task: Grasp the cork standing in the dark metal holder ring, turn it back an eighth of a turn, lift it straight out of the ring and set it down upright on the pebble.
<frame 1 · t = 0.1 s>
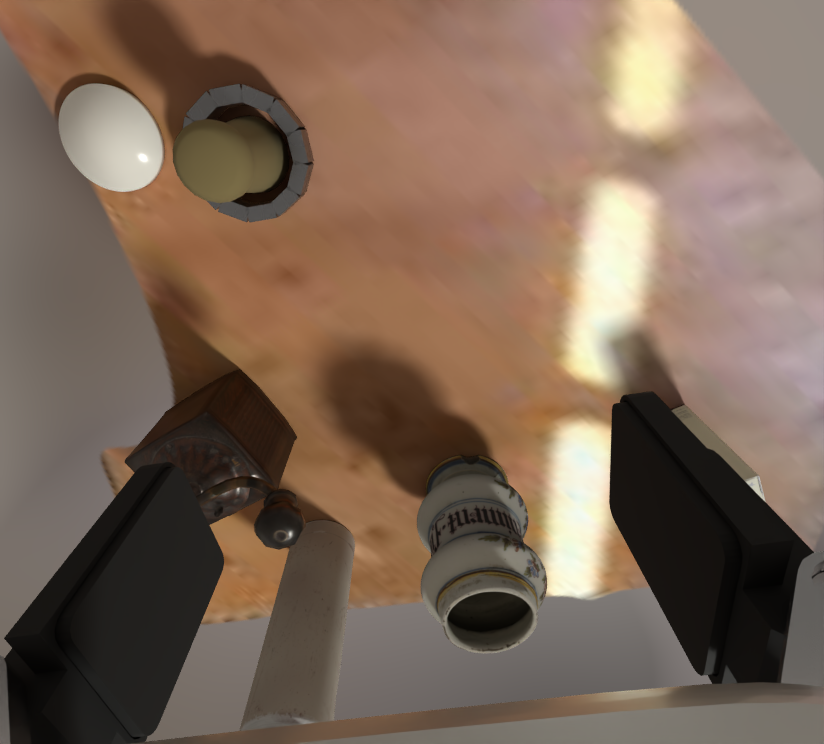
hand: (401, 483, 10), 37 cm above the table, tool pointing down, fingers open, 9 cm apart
skincare box: (672, 430, 54), on the table
pepper mill: (253, 414, 53), on the table
pebble: (115, 139, 40), on the table
cork: (254, 155, 41), resting in holder ring
holder ring: (253, 155, 41), on the table
thermos bottle: (324, 541, 61), on the table
apothecary jar: (466, 485, 58), on the table
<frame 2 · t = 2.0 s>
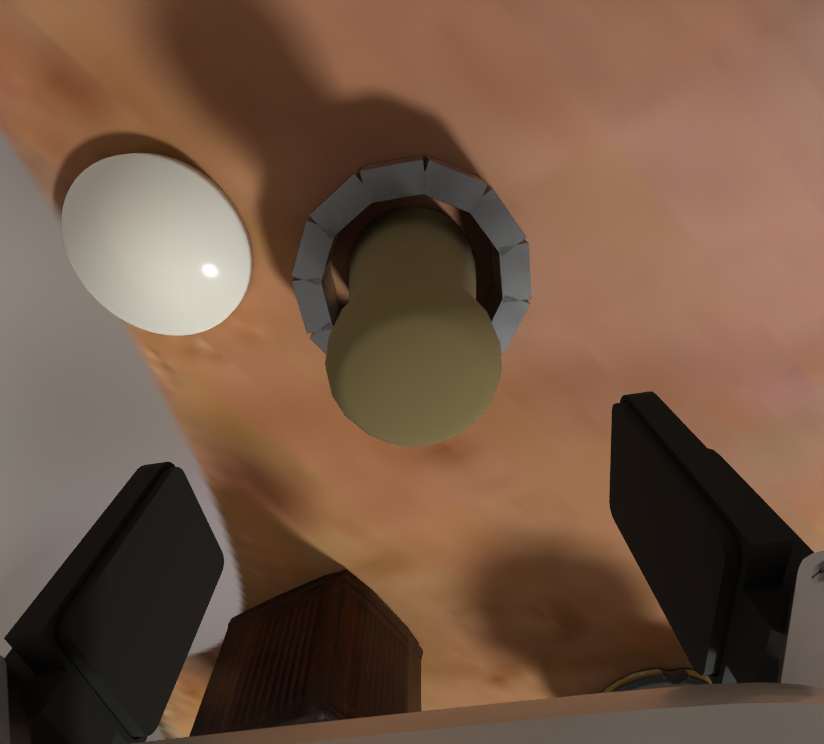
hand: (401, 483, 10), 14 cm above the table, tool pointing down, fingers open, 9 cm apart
pepper mill: (359, 620, 35), on the table
pebble: (165, 248, 22), on the table
cork: (412, 271, 23), resting in holder ring
holder ring: (412, 273, 22), on the table
apothecary jar: (654, 698, 40), on the table
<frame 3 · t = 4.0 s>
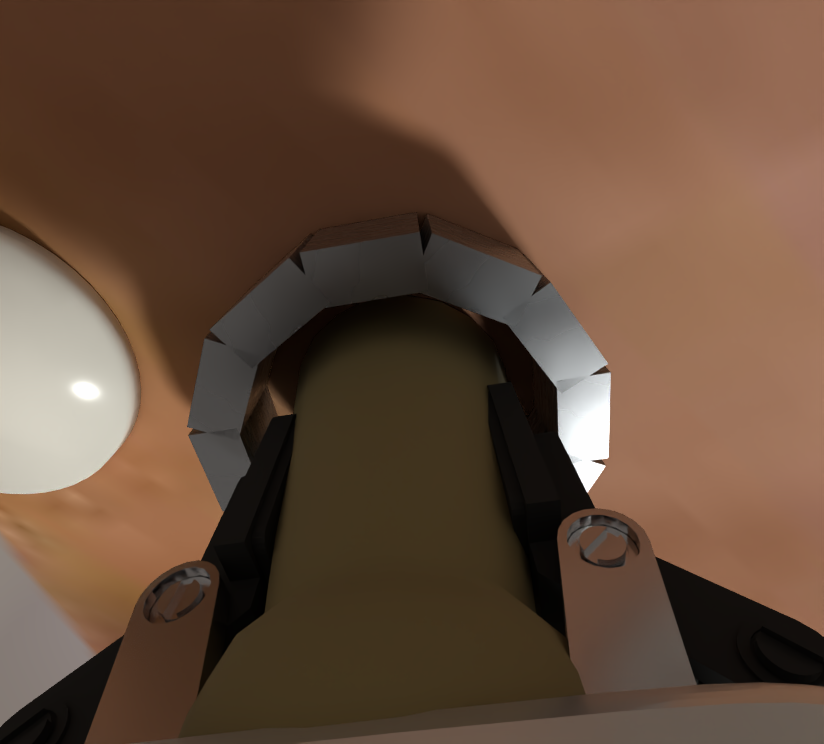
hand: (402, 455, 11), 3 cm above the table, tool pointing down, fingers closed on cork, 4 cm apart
cork: (402, 392, 14), resting in holder ring, touching gripper
holder ring: (402, 395, 14), on the table
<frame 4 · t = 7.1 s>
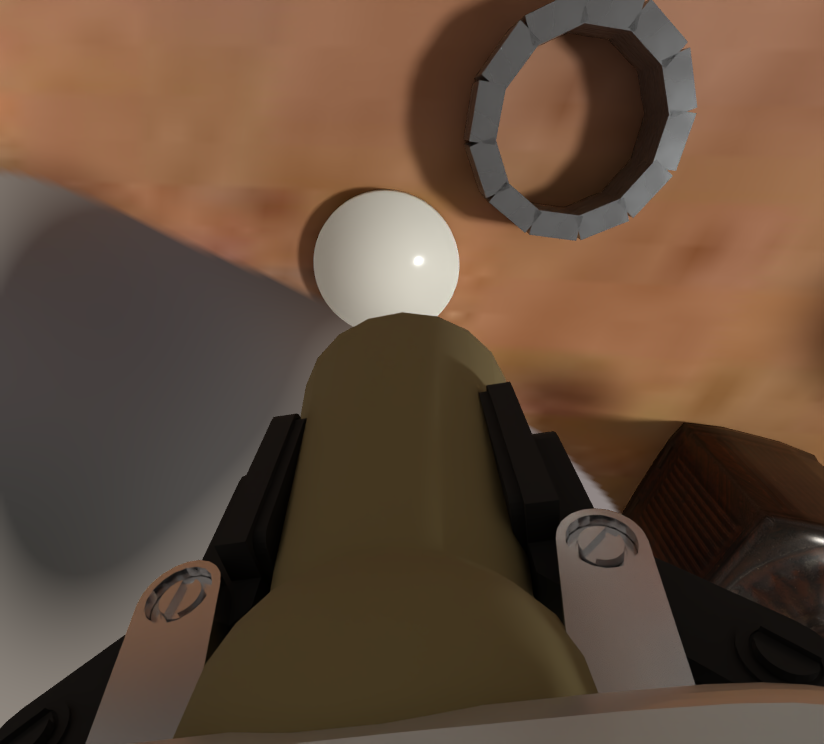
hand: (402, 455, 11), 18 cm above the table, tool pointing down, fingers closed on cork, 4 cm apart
pepper mill: (728, 463, 34), on the table
pebble: (387, 264, 27), on the table
cork: (406, 408, 14), point 15 cm above the table, touching gripper
holder ring: (565, 126, 24), on the table
when the fingers open (5 cm above the table, at t = 10.3 s): cork stays where it is, resting on pebble.
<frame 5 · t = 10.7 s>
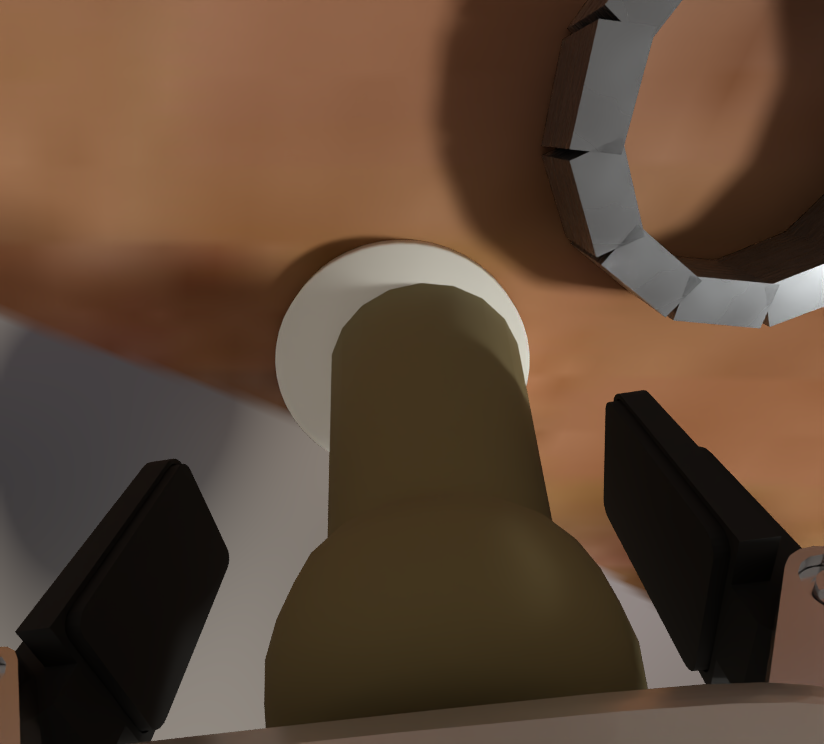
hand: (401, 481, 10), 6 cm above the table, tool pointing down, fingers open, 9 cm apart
pebble: (403, 362, 16), on the table
cork: (425, 372, 15), point 1 cm above the table, touching pebble
holder ring: (733, 116, 13), on the table
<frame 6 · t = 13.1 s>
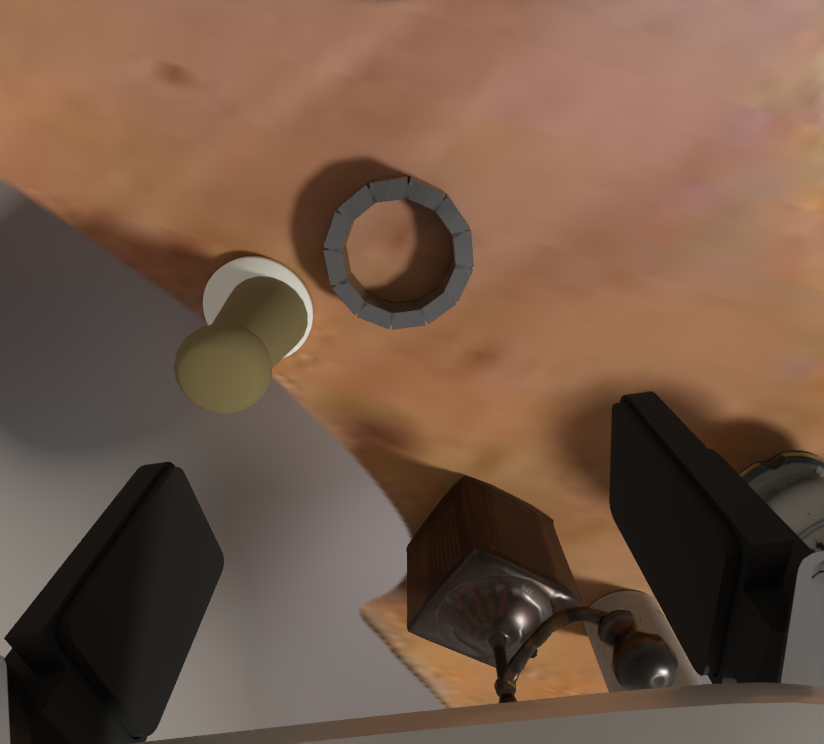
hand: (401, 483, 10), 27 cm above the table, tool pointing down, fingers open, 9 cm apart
pepper mill: (495, 513, 45), on the table
pebble: (260, 308, 36), on the table
cork: (268, 315, 36), point 1 cm above the table, touching pebble
holder ring: (399, 251, 34), on the table
thermos bottle: (620, 614, 52), on the table
apothecary jar: (774, 493, 45), on the table
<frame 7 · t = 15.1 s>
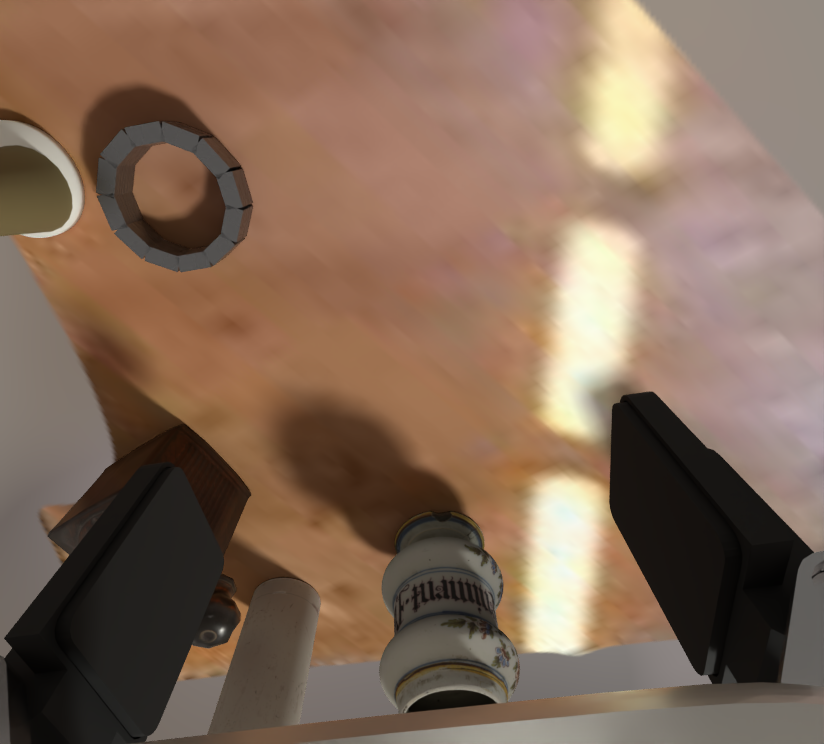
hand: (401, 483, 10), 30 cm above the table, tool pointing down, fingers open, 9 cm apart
pepper mill: (203, 469, 48), on the table
pebble: (28, 180, 36), on the table
cork: (31, 190, 35), point 1 cm above the table, touching pebble
holder ring: (184, 197, 36), on the table
thermos bottle: (287, 599, 57), on the table
apothecary jar: (438, 542, 53), on the table
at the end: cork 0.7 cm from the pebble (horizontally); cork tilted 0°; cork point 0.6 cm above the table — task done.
